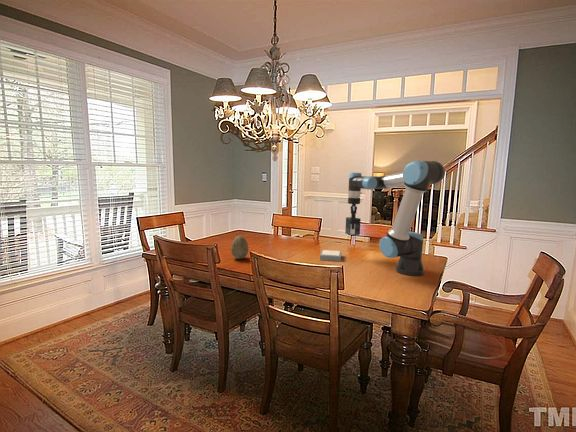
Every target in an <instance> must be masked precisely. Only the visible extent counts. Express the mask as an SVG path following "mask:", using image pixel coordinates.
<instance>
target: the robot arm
mask: <svg viewBox="0 0 576 432" xmlns="http://www.w3.org/2000/svg"><path fill="white" fill-rule="evenodd" d="M445 175H446V170H445V167H444V165H443V164H442V163H441V162H438V161H435V160H421V159H420V160H413V161H410V162H408V163H407V164H406V165H405V166H404V169H403V172H397V173H393V174H387V175H383V176H376V175H374V176H373V175H372V176H370V175H368V176H363V175H362V173H361V172H350V173H349V175H348V192H347V196H348V197H347V204H349V205H351V206H350V214H351V215H350V217H351V223H350V224H351V231H350V234H355V218H356V215H357V210H358V206H357V205H359V204H360V205H361V198H360V197H361V194H362V191H361V190H368V191H369V190H380V189H382V190H384V189H385V190H386V189H390V188H394V187H401V186H404V187H405V190H404V193H403V196H402V198H401V201H400V204H399V207H398V210H397V213H396V216H395V219H394V220H393V224H392V228H390V229H388V231H387V232H386V235H385V236H383V237H381V238H380V239H379V250H380V252H381V254H382V255H383V256H384V257H386V258H389V259H391V258H392V259H393V258H394V259H395V258H399V259H398V260H397V263H396V265H395V272H397V273H399V274H401V275H405V276H411V277H412V276H413V277H415V276H422V275H424V274H425V269H424V265H423V260H422V258H423V257H422V256H423V247H424V246H423V245H424V235H423V234H422V233H419V232H415V231H410V229H411V226H412V224H413V221H414V219H415V216H416V213H417V211H418V208H419V205H420V203H421V200H422V196H423V195H424V193H426V192H428V190H429V188H430V185H435V184H438V183H440V182H441V181H442V180H443V179H444V178H445ZM353 221H354V222H353Z"/></svg>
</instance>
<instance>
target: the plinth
mask: <svg viewBox="0 0 576 432" xmlns="http://www.w3.org/2000/svg"><path fill="white" fill-rule="evenodd" d="M319 260H320V261H328V260H329V261H330V262H341V261H342V251H341V250H328V249H322V250H321V252H320V254H319Z"/></svg>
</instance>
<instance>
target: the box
mask: <svg viewBox="0 0 576 432" xmlns="http://www.w3.org/2000/svg"><path fill="white" fill-rule="evenodd" d="M361 221H362V220H361V218H359V217H355V234H350V231H351V224H350V223H351V216H349V217H345V234H346V235H350V236H360V235H361ZM353 222H354V221H353Z"/></svg>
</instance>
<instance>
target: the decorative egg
mask: <svg viewBox="0 0 576 432" xmlns="http://www.w3.org/2000/svg"><path fill="white" fill-rule="evenodd" d="M230 250H231V251H230V252H231V255H232V256H233V258H235V259H236V260H242V259H245V258H246V256H247V255H248V253H249V244H248V241H247V239H246V238H245V237H244V236H242V235H238V236H235V238H234V239H233V241H232V243H231V246H230Z"/></svg>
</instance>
